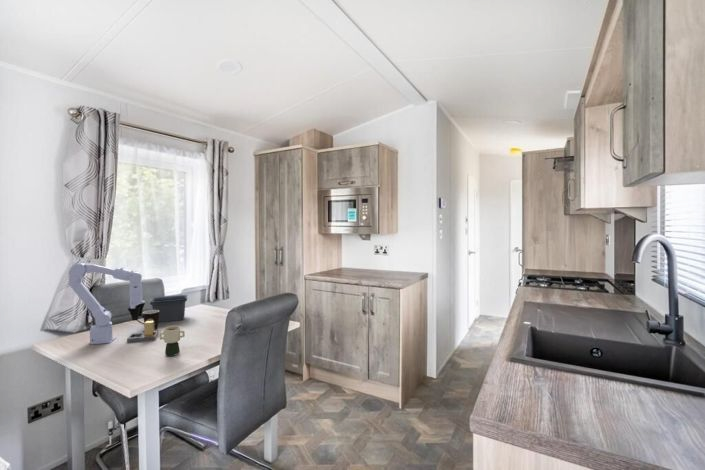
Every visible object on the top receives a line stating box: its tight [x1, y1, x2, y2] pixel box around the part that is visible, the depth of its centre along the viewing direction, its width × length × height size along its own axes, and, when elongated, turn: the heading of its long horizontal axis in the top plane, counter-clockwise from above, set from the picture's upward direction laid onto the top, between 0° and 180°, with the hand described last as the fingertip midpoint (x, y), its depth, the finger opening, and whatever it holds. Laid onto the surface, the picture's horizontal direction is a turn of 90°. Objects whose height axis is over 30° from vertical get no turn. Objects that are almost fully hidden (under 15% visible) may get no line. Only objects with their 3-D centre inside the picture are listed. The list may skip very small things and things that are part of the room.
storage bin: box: [149, 294, 188, 323], centre depth 228 cm, size 21×16×14 cm
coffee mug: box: [136, 309, 159, 330], centre depth 210 cm, size 12×9×10 cm
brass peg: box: [143, 321, 156, 336], centre depth 193 cm, size 4×4×9 cm
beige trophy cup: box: [158, 325, 186, 357], centre depth 170 cm, size 11×7×13 cm, turn 110°
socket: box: [126, 331, 159, 343], centre depth 192 cm, size 13×9×2 cm
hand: (137, 318), depth 194 cm, fingers open, 7 cm apart
